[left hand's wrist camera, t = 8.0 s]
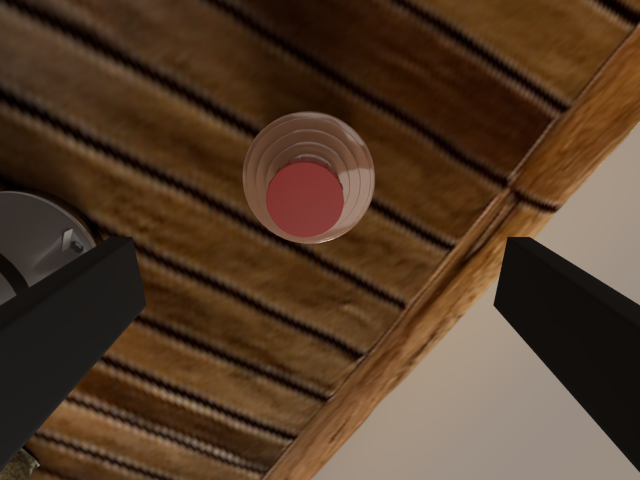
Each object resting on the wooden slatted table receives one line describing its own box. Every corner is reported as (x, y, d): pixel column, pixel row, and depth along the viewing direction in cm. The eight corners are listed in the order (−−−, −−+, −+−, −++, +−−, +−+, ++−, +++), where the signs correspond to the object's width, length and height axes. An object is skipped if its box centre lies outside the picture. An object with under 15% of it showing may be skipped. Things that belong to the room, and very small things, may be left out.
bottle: (371, 163, 35) (418, 217, 18) (305, 210, 37) (290, 299, 20) (323, 91, 32) (324, 72, 15) (255, 144, 34) (188, 180, 17)
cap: (357, 201, 19) (360, 210, 17) (298, 240, 20) (297, 252, 18) (314, 140, 18) (314, 144, 16) (255, 185, 19) (248, 193, 17)
